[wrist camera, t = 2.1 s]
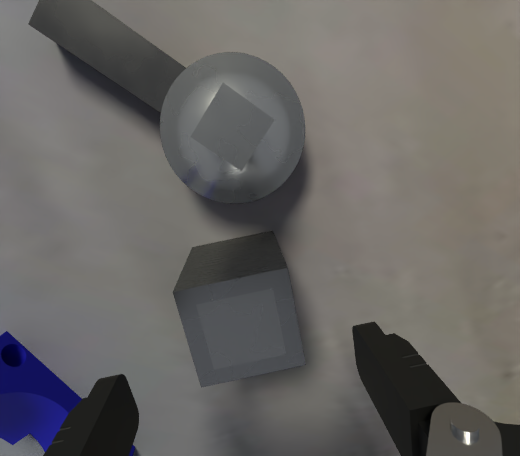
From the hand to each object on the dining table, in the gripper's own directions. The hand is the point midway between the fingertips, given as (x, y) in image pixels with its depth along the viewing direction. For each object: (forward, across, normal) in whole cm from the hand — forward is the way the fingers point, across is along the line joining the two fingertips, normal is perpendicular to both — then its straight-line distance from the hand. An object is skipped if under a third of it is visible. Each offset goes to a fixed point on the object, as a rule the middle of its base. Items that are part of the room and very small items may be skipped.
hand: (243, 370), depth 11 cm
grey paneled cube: (+9, 0, +1) cm, 9 cm away
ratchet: (+9, +1, -10) cm, 14 cm away
